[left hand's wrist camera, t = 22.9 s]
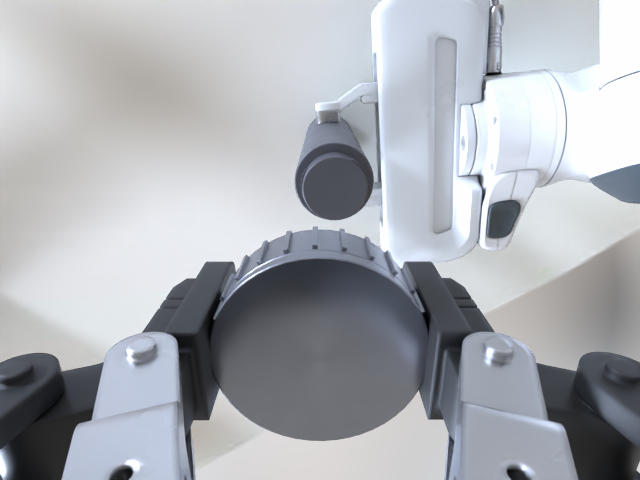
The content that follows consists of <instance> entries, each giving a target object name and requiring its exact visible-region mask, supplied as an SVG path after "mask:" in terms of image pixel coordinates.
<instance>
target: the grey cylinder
mask: <svg viewBox="0 0 640 480" xmlns="http://www.w3.org/2000/svg"><path fill="white" fill-rule="evenodd" d="M373 184H374V177H373V172H372V168H371V166H370V164H369V162H368V160H367V158H366V156H365V154H364V153H363V151H362V149H361V147H360V145H359V143H358V142H357V140H356V138H355V136H354V134H353V133H352V131H351V129H350V127H349V125H348V124H347V123H346V121H345V120H343V119H342V118H341V117H340V122H338V123H331V122H329V121H328V122H327V123H324V124H317V118H316V119H315V120H314V121H313V122H312V123H311V125H310V126H309V128H308V131H307V135H306V138H305V142H304V145H303V149H302V153H301V156H300V160H299V163H298V167H297V170H296V175H295V189H296V193H297V196H298V198H299V200H300V202H301V203H302V205H303V206H304V207H305V208H306V209H307V210H308V211H309V212H311V213H312V214H314V215H315V216H318V217H320V218H323V219H328V220H341V219H345V218H348V217H350V216H352V215H354V214H356V213H357V212H359V211H360V210H361V209H362V208H363V207H364V206H365V205H366V203H367V202H368V200H369V198H370V196H371V194H372V190H373Z"/></svg>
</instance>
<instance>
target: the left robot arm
mask: <svg viewBox="0 0 640 480" xmlns="http://www.w3.org/2000/svg"><path fill="white" fill-rule="evenodd" d="M403 267H404V268H405V270H406V272H407V274H408V276H409V278H410V281H411V283H412V285H413V287H414V288H415V290H416V292H417V294H418V297H419V299H420V301H421V303H422V306H423V308H424V310H425V316H424V319H425V322H426V325H427V328H428V332H429V337H428V347H427V356H426V365H425V374H424V380H423V382H422V384H421V386H420V388H419V392H420V395H421V398H422V401H423V404H424V408H425V411H426V414H427V417H428V419H444V421H445V424H446V427H447V429H448V432H449V435H448V441H447V453H446V466H445V480H640V473H639V472H637V471H636V469H637V467H638V464H639V462H640V362H638V361H635V360H633V359H630V358H628V357H625V356H621V355H618V354H613V353H607V352H591V353H587V354H585V355H583V356H582V357H581V359H580V361H579V364H578V368H577V371H572V370H567V369H562V368H557V367H552V366H547V365H543V364H538V363H536V360H535V356H534V354H533V353H532V351H531V350H530V349H529V348H528V347H527V346H526V345H525V344H523V343H522V342H520V341H518V340H516V339H514V338H512V337H510V336H507V335H504V334H500V333H495V332H494V330H493V329H492V327H491V326H490V324H489V323H488V321H487V320H486V318H485V317H484V316H483V314H482V313H481V311H480V310H479V308H477V305H476V304H475V302H474V301H473V300H471V296H470V295H469V294H468V292H467V291H466V289H465V288H464V287H463V286H462V285H460V284H459V283H457V282H456V281H454V280H453V279H451V278H441V276H440V275H439V273H438V271H437V270H436V268H435V266H434V265H433V263H432V262H431V261H405V262H404V264H403ZM231 274H234V275H235V274H236V270H235V265H234V263H233V262H206V263H205V264H204V266H203V268H202V269H201V271H200V273H199V274H198V276H197V278H196V279H186V280H184V281H183V282H181V283H180V284H178V285H176V286H175V287H173V289H172V290H171V292H170V293H169V295H168V296H167V297H166V300H164V302H163V303H162V305H161V306H160V309H158V310H157V312H156V313H155V315H154V316H153V318H152V319H151V321H150V322H149V323H148V325H147V326H146V328H145V329H144V331H143V332H142V333H140V334H136V335H133V336H130V337H128V338H125V339H124V340H122V341H120V342H118V343H117V344H115V345H114V346H113V347H112V348H111V349H110V350H109V351H108V353H107V354H106V356H105V360H104V362H103V363H100V364H97V365H92V366H88V367H83V368H78V369H73V370H68V371H63V372H62V371H61V368H60V364H59V361H58V359H57V358H56V357H55V356H53V355H50V354H46V353H32V354H26V355H21V356H17V357H14V358H11V359H8V360H6V361H3V362H1V363H0V480H195V466H194V453H193V441H192V435H191V428H190V427H191V424H192V422H193V420H209V418H210V415H211V412H212V409H213V406H214V403H215V400H216V397H217V394H218V390H219V386H218V384H217V381H216V379H215V376H214V374H213V369H212V361H211V352H210V334H211V330H212V326H213V318H214V315H215V313H216V311H217V309H218V306H219V304H220V302H221V300H220V297H221V295H222V293H223V291H224V288H225V286H226V284H227V282H228V280H229V277H230V275H231Z"/></svg>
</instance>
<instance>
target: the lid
mask: <svg viewBox="0 0 640 480" xmlns="http://www.w3.org/2000/svg"><path fill="white" fill-rule="evenodd" d="M220 300H221V302H220V304H219V306H218V309H217V311H216V313H215V315H214V318H213V326H212V330H211V334H210V352H211V361H212V369H213V374H214V376H215V379H216V381H217V384H218V386H219V387H220V389H221V391H222V392H223V394H224V395H225V397H226V398H227V399H228V401H229V402H230V403H231V404H232V405H233V406H234V407H235V408H236V409H237V410H238V411H239V412H240V413H241V414H243V415H244V416H245V417H246V418H248V419H249V420H250V421H252V422H254V423H255V424H257V425H259V426H260V427H263V428H265V429H267V430H269V431H271V432H274V433H277V434H280V435H283V436H287V437H291V438H295V439H302V440H311V441H327V440H338V439H344V438H349V437H353V436H356V435H360V434H363V433H365V432H368V431H370V430H373V429H375V428H377V427H379V426H381V425H383V424H384V423H386V422H387V421H389V420H390V419H392V418H393V417H395V416H396V415H397V414H398V413H399V412H401V411H402V410H403V409H404V408H405V407H406V406H407V405H408V403H409V402H410V401H411V400H412V399H413V397H414V396H415V395H416V393H417V392H418V390H419V388H420V386H421V384H422V382H423V380H424V374H425V365H426V356H427V347H428V337H429V332H428V328H427V325H426V322H425V319H424V316H425V310H424V308H423V306H422V303H421V301H420V299H419V297H418V294H417V292H416V290H415V288H414V287H413V285H412V283H411V281H410V278H409V276H408V274H407V272H406V270H405V268H404V267H403V268H400V267H399V266H398V264H397V263H396V262H395V261H394V260H393V258H392V256H391V253H390V252H389V251H388V250H386V251H385V252H384V251H383V250H382V249H380V248H379V247H377V246H376V245H374V244H372V243H371V242H370V239H369V238H368V237H365V238H364V239H362V238H360V237H358V236H355V235H352V234H348V233H345V230H344V229H340V231H333V230H318V227H313V230H307V231H300V232H295V233H292V232H291V231H287V233H286V235H285V236H282V237H279V238H277V239H275V240H273V241H271V242H269V243H268V241H267V240H266V241H264V242H263V244H262V247H261V248H259V249H258V250H256V251H255V252H254V253H253V254H252V255H251V256H249V257H248V256H247V255H246V256H245V257H244V258H243V261H242V263H241V265H240V268H239V269H238V270H237V272H236V274H235V275H234V274H231V275H230V277H229V280H228V282H227V284H226V286H225V288H224V291H223V293H222V295H221V297H220Z"/></svg>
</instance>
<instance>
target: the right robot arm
mask: <svg viewBox="0 0 640 480" xmlns="http://www.w3.org/2000/svg"><path fill="white" fill-rule="evenodd" d="M492 4H493V6H490V0H382V1H381V2H380V3H379V4H378V5H377V6H376V8H375V9H374V11H373V12H372V15H371V30H372V54H373V77H374V82H371V83H362V84H358V85H357V86H355V87H354V88H353V89H351V90H350V91H349V92H347V93H346V94H344V95H343V96H342V97H340V98H339V99H338V101H331V102H321V103H315V108H316V118H317V124H324V123H327V122H328V121H329V122H331V123H338V122H340V111H341V110H343V109H344V108H345V107H347V106H348V105H349V104H351V103H352V102H354V101H355V100H356V99H358V98H359V97H360V101H361V102H362V103H364V104H368V103H375V124H376V148H377V171H378V182H374V184H373V190H372V194H371V196H370V198H369V200H368V202H367V203H366V206H375V205H379V218H380V241H381V249H382V250H383V251H384V252H385V251H386V250H388V251H389V252H390V253H391V256H392V258H393V260H394V261H395V262H396V263H397V264H398V266H399V267H403V264H404V262H405V261H431V262H432V263H433V264H436V263H441V262H446V261H451V260H455V259H458V258H461V257H463V256H465V255H466V254H468V253H469V252H470V251H471V250H472V249H473V248H474V247H475V245H476V243H477V244H478V245H480V246H481V247H482V248H484V249H485V250H490V251H494V250H501V249H504V248H505V247H506V246H507V245H508V244H509V242H510V240H511V238H512V236H513V234H514V231H515V229H516V226H517V224H518V222H519V219H520V217H521V215H522V213H523V211H524V208H525V206H526V204H527V202H528V200H529V198H530V196H531V195H532V193H533V191H534V189H535V188H539V187H545V186H548V185H551V184H554V183H556V182H559V181H563V180H577V181H582V182H589V183H593V184H594V185H595V186H596V187H598V188H599V189H601V190H603V191H604V192H606V193H608V194H610V195H611V196H613V197H615V198H617V199H619V200H620V201H623V202H628V203H640V0H599V19H600V64H597V65H593V66H590V67H588V68H585V69H583V70H580V71H576V72H570V73H567V72H559V71H555V70H546V69H543V70H533V71H523V72H513V73H503V74H502V73H501V61H502V46H501V45H502V42H501V41H502V38H501V37H502V34H501V33H502V26H503V24H504V7H503V5H499V1H498V0H492ZM486 73H487V74H486ZM483 74H485V76H483Z"/></svg>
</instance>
